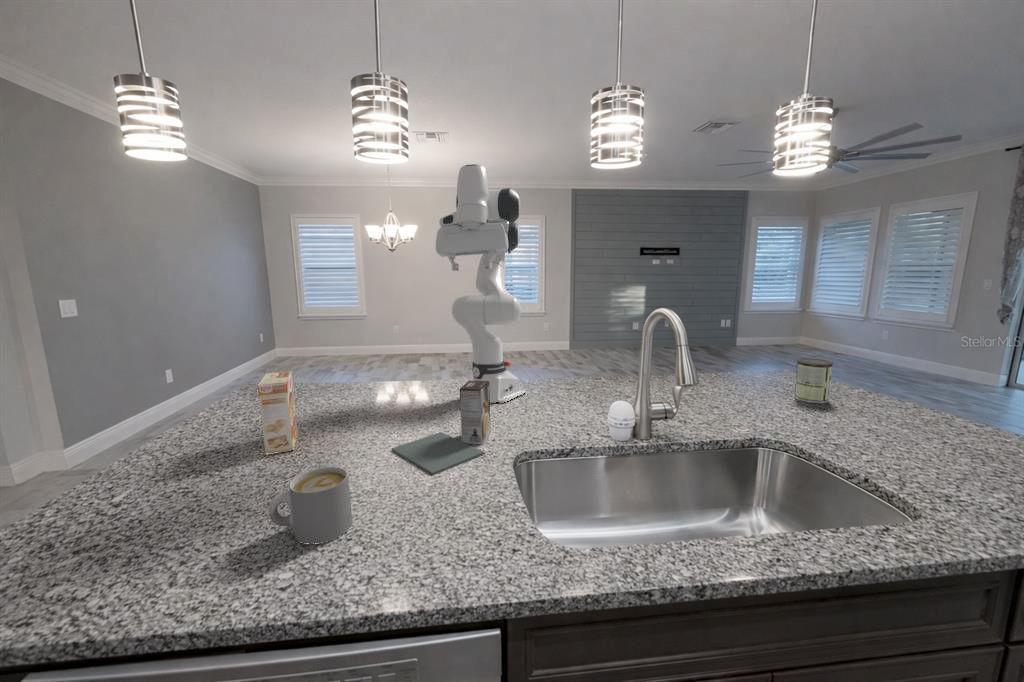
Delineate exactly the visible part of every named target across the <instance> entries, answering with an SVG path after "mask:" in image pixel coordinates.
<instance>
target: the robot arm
mask: <svg viewBox="0 0 1024 682" xmlns="http://www.w3.org/2000/svg"><path fill="white" fill-rule="evenodd" d="M455 199H456V202H455V206H456V207H455V208H456V211H454V212H452V213H450V214H448V215H446V216H445V215H444V216H442V217H441V218H439V222H438V223H439V226H440V227H439V229H438V231H437V233H436V238H435V252H436V253H437V254H438V255H439V256H440V257H442V258H446V257H447V258H448V260H449V262H450V263H451V270H452V271H453V272H459V271H460V269H459V268H460V265H459V263H457V262H455V260H456V257H458V256H471V255H472V256H473V255H481V256H480V260H479V263H478V266H477V271H476V273H477V274H476V277H475V278H476V279H475V287H476V289H477V291H478V292H479V293H480V294H481V295H480V294H479V295H465V296H461V297H457V298H456V299H455V300H454V302H453V304H452V307H451V314H452V317H453V319H454V321H455V322H456V323H457V324H459V325H460V326H461V327H462V328H463V329H464V330H465V331H466V332H467V335H468V336H469V339H470V342H471V347H472V359H473V360H472V364H471V365H472V366H471V371H472V376H473V377H472V378H473V379H472V381H489V389H490V404H495V403H496V402H499V404H505V403H504V402H506V403H508V402H507V401H509V400H511V399H513V398H515V397H517V396H519V395H521V394H523V393H525V392H526V393H527V391H526V390H525V389H524V388H521V384H520V380H519V378H518V377H517V376H516V375H514V374H513V373H512V372H510V371H508V369H507V367H509V368H510V367H511V366H512V362H511V361H510V360H506V361H504V360H503V358H504V357H503V343H502V339H500V337H498V336H497V335H495V334H494V333H491V332H489V330H488V329H487V327H486V326H505V325H511V324H516V323H517V322H518V321H519V320H520V318H521V315H522V310H523V309H522V304H521V302H520V300H519V299H518V298H517V297H516V296H514V295H512V294H511V293H509V291H508V290H507V288H506V284H505V282H506V281H505V280H506V265H507V264H506V253H507V254H508V255H509V254H511V253H512V251H514V250H515V249H516V248H517V247H518V246H519V243H520V241H521V235H522V233H521V229H520V227H519V224H518V223H517V222H516V221H518V219H519V217H520V215H521V207H522V205H521V198H520V196H519V193H517V191H516V190H515V189H513V188H512V187H509V188H508V187H507V188H502V189H501V188H500V189H489V181H488V172H487V168H486V167H485V166H483V165H480V164H476V163H475V164H473V163H472V164H465V165H463V166H461V167H460V168H459V172H458V176H457V183H456V197H455ZM515 399H516V398H515ZM513 400H514V399H513ZM511 401H512V400H511ZM509 402H510V401H509ZM496 404H497V403H496Z"/></svg>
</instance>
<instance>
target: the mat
mask: <svg viewBox="0 0 1024 682" xmlns="http://www.w3.org/2000/svg"><path fill="white" fill-rule="evenodd" d="M391 451H392V452H393V453H395V454H396V455H399V456H400V457H402V458H403V459H405V460H407V461H409V462H411V463H412V464H413V465H416V466H417V467H419V468H420V469H421V470H424V471H426V472H427V473H429V474H430V475H431V476H434V475H437V474H439V473H441V472H444V471H446V470H449V469H451V468H454V467H457V466H459V465H461V464H464V463H466V462H469V461H472V460H473V459H475V458H478V457H481V456H483V455H485V451H484V450H481V449H479V448H476V447H474V446H473V445H471V444H467V443H464V442H462V440H459V439H457V438H455V437H453V436H451V435H448V434H446V433H444V432H442V431H441V432H437V433H435V434H434V433H433V434H432V435H431V434H430V435H429V436H425V437H422V438H419V439H417V440H413V441H409V442H407V443H403V444H401V445H398V446H395V447H391Z"/></svg>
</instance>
